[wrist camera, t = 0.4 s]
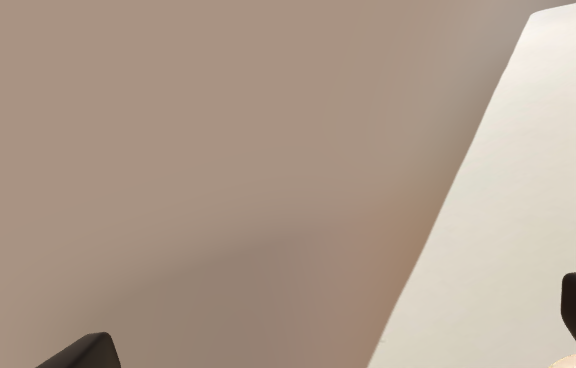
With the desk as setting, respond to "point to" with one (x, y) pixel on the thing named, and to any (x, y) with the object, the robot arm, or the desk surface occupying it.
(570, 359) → the milkshake
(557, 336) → the desk surface
